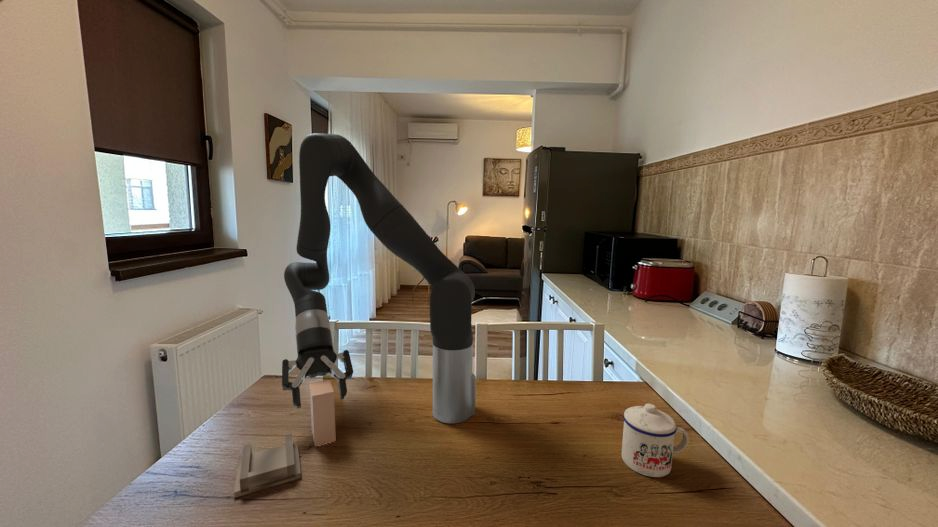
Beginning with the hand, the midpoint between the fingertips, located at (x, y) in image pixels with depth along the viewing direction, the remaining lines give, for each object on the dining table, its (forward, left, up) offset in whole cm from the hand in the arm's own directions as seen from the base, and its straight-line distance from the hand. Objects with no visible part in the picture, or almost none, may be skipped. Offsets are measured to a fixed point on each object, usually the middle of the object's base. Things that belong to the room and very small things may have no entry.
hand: (321, 402), depth 77 cm
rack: (+10, +7, -7) cm, 14 cm away
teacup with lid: (-55, +38, -7) cm, 67 cm away
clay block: (0, +1, -7) cm, 7 cm away
